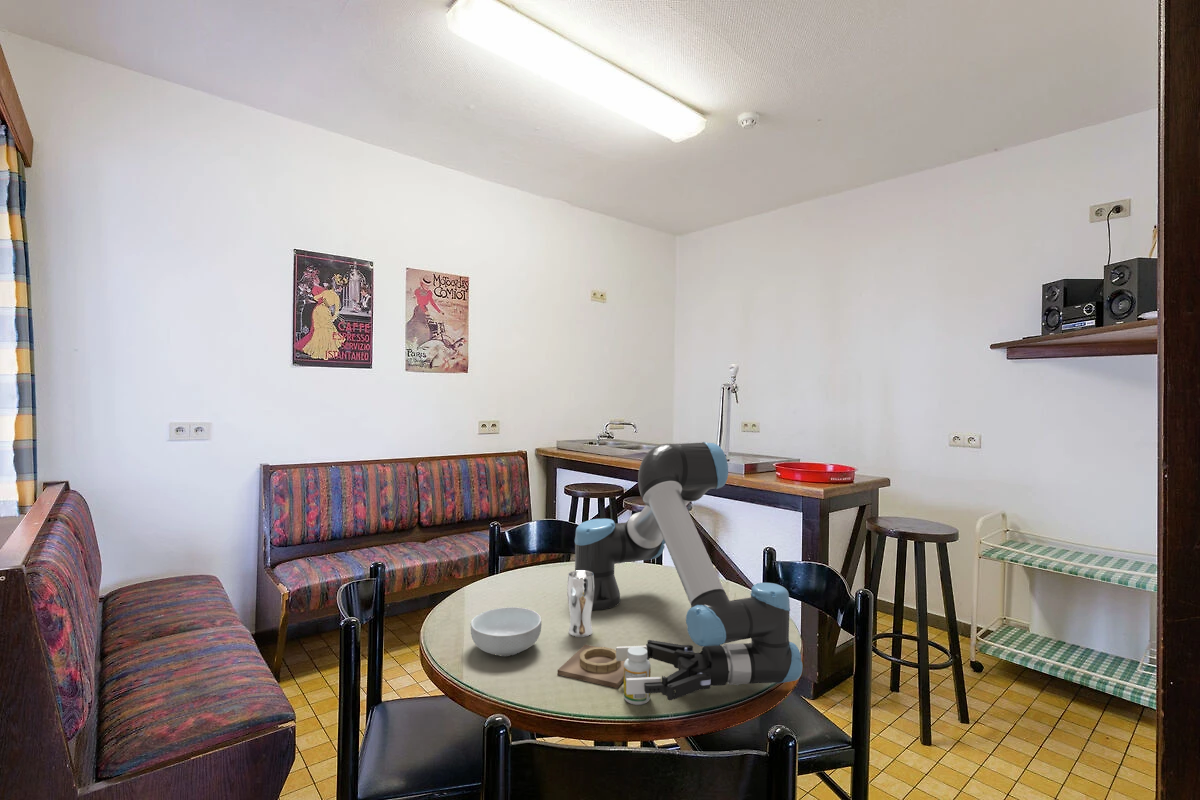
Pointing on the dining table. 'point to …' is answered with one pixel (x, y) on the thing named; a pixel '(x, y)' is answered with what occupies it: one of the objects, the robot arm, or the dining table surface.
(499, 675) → the dining table surface
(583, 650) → the collar stand
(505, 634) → the cereal bowl
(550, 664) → the dining table surface
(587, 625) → the silver metal tumbler
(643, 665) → the supplement bottle
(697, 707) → the dining table surface
